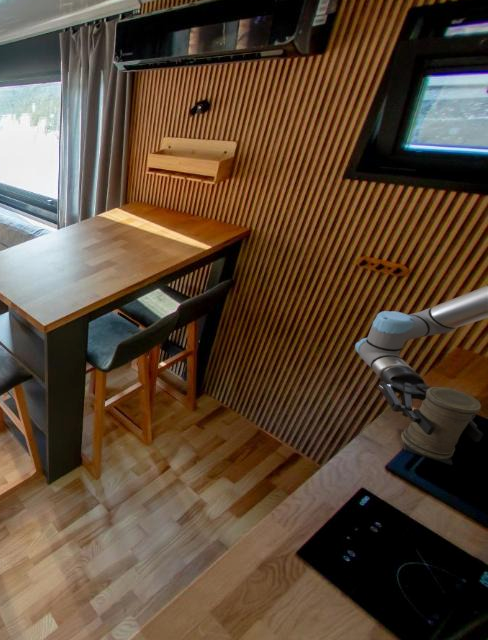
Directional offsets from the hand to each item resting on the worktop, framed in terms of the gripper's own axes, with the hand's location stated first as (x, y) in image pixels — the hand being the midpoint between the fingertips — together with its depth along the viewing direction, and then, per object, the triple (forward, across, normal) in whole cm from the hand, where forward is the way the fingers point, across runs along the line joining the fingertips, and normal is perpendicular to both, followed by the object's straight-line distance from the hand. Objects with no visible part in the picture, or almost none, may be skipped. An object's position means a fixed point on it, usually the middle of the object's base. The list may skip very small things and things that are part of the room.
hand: (454, 434), depth 91 cm
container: (-5, 0, -10) cm, 11 cm away
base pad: (-5, 0, -11) cm, 12 cm away
